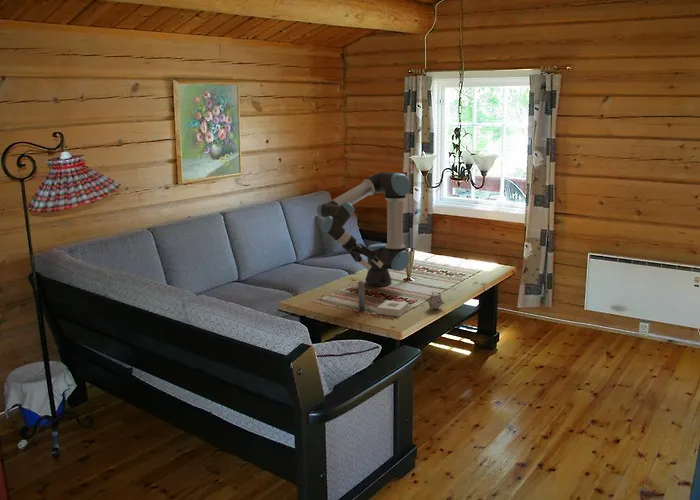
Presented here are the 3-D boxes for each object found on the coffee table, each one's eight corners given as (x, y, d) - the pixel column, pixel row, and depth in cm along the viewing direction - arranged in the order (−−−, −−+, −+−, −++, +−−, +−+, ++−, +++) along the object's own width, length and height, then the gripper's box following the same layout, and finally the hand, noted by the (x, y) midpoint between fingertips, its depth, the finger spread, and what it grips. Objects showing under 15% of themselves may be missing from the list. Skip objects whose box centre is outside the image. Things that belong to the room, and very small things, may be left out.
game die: (439, 315, 346) (451, 300, 342) (429, 314, 339) (442, 299, 336) (428, 303, 351) (440, 289, 348) (419, 302, 344) (431, 287, 341)
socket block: (387, 306, 351) (386, 300, 350) (408, 309, 346) (408, 302, 345) (377, 313, 340) (377, 307, 340) (399, 316, 335) (399, 309, 334)
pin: (360, 309, 348) (359, 281, 345) (366, 309, 347) (365, 281, 344) (357, 311, 346) (356, 282, 342) (363, 311, 344) (362, 283, 341)
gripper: (332, 248, 357) (361, 274, 362) (352, 243, 334) (383, 270, 340) (340, 238, 359) (369, 264, 365) (360, 231, 337) (391, 259, 342)
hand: (375, 267), depth 352 cm, fingers open, 13 cm apart
